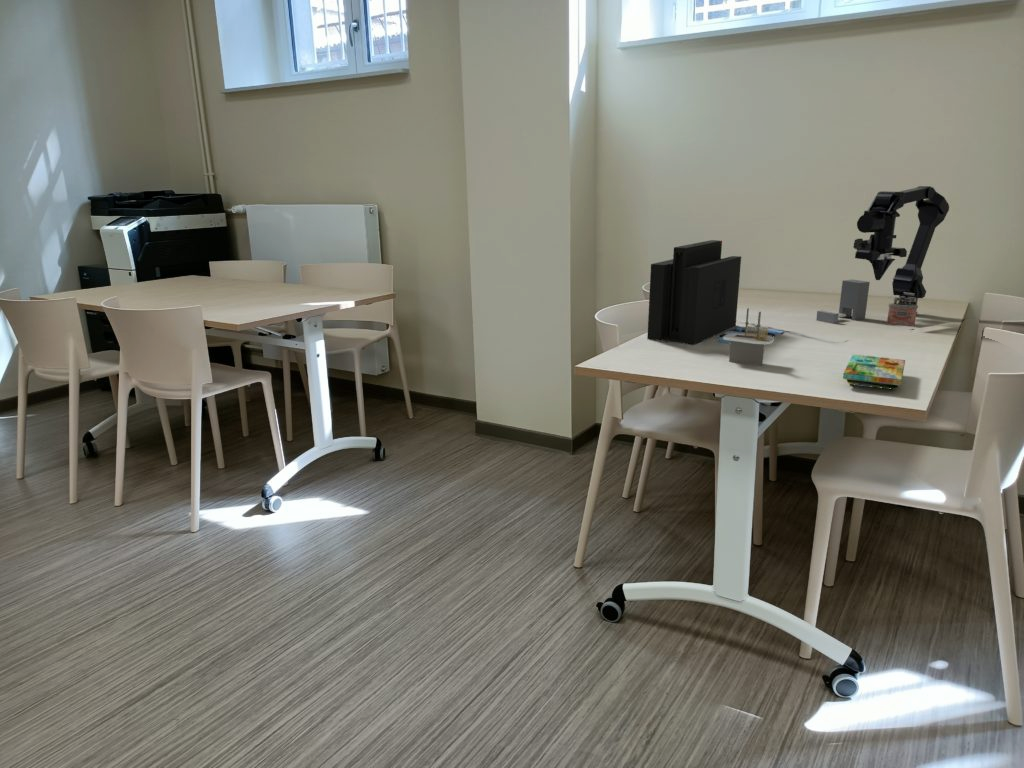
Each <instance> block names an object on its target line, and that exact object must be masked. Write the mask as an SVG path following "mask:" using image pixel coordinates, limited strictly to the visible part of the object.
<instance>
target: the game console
mask: <svg viewBox="0 0 1024 768" xmlns="http://www.w3.org/2000/svg"><path fill="white" fill-rule="evenodd" d="M722 245H723V240H714V239H711V240H705V241H698V242H695V243H689V244H683V245H680V246H673V255H672V256H673V257H672V258H673V259H669V260H668V259H667V260H664V261H659V262H655V263H650V277H649V278H650V279H649V295H648V296H649V299H648V316H647V317H648V318H647V336H646V337H647V340H653V341H663V342H672V343H679V344H684V345H689V346H696V345H697V344H699V343H701V342H704V341H706V340H708V339H711V338H712V337H715V336H717V335H719V338H717V340H716V341H717V342H720V343H724V342H726V343H725V344H730V342H731V341H730V340H724V339H723V338H724V336H725V335H727V334H730V333H738V334H745V328H746V326H742V327H736V324H737V313H738V302H739V301H738V299H739V290H740V289H739V288H740V279H741V277H740V276H741V275H740V274H741V265H742V263H741V262H742V256H740V255H739V256H738V255H737V256H736V255H732V256H728V257H724V258H722V249H723V246H722ZM734 327H736V328H734ZM752 327H753V326H751V327H750V329H751V333H752V335H754V332H753V328H752ZM731 328H732V329H731ZM761 328H762V327H761ZM761 328H759V329H760V330H761ZM754 329H755V333H756V335H757V328H754ZM762 329H763V330H765V329H764V328H762ZM723 332H724V333H723ZM759 333H760V332H759ZM763 333H764V331H763ZM781 333H782V334H783V333H784V331H781V330H777V329H769V328H768V332H767V336H768V337H773V336H774V337H776V335H777V334H781ZM747 334H750V332H749V329H748V327H747ZM782 334H781V335H782ZM760 336H761V333H760ZM765 336H766V333H765Z"/></svg>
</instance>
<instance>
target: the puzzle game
mask: <svg viewBox="0 0 1024 768" xmlns="http://www.w3.org/2000/svg"><path fill="white" fill-rule="evenodd" d="M905 365H906V360H905V359H901V358H899V359H898V358H890V357H884V356H881V357H879V356H875V355H874V356H872V355H863V354H862V355H861V354H852V355H851V357H850V359H849V362H848V364H847V365H846V367H845V370H844V371H843V376H842V378H843V380H846V382H847V383H848V384H855V385H854V386H857V385H863V386H862V387H865V386H872V387H871V388H873V387H882V388H891V389H894V390H896V389H897V388H898V387H899V386H901V384H902V380H903V375H904V370H905ZM882 388H881V389H882Z"/></svg>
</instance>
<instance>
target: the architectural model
mask: <svg viewBox="0 0 1024 768" xmlns="http://www.w3.org/2000/svg"><path fill="white" fill-rule="evenodd" d="M749 312H750V308H749V307H747V308H746V317H745V318H746V319H745V327H746V328H745V334H738V333H730V334H727V335H725V336H724V338H723V339H724V340H730V341H731V342H730V343H729V345H730V346H729V356H728V362H731V363H738V364H739V363H740V364H747V365H755V366H763V363H764V362H763V360H764V351H765V345H771V344H773V343H774V341H775V336H774V337H768V336H767V332H768V329H769V327H768V326H766V327H761V315H762V311H758V317H757V318H758V319H757V326H751V325H748V323H749ZM747 327H748V329H749V332H750V334H747ZM750 327H752V328H753V332H754V335H752V333H751V329H750ZM754 328H757V335H756V333H755V329H754ZM759 328H761V330H760V329H759ZM763 329H765V330H763ZM763 331H764V333H763ZM759 332H760V333H761V336H760V333H759ZM765 333H766V336H765Z"/></svg>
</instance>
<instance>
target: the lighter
mask: <svg viewBox="0 0 1024 768" xmlns="http://www.w3.org/2000/svg"><path fill="white" fill-rule="evenodd" d="M906 301H909V302H908V304H906ZM911 302H916V298H914V297H908V298H905V296H901V297H899V296H894V297H893V302H890V303H889V302H888V303H889V304H888V314H887V320H886V323H887V324H890V325H891V324H892V325H902V326H915V325H916V318H917V316H916V312H918V311H917V309H918V307H919V306H918V304H917V305H912V304H911ZM914 330H915V328H911V329H909V331H914Z"/></svg>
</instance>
